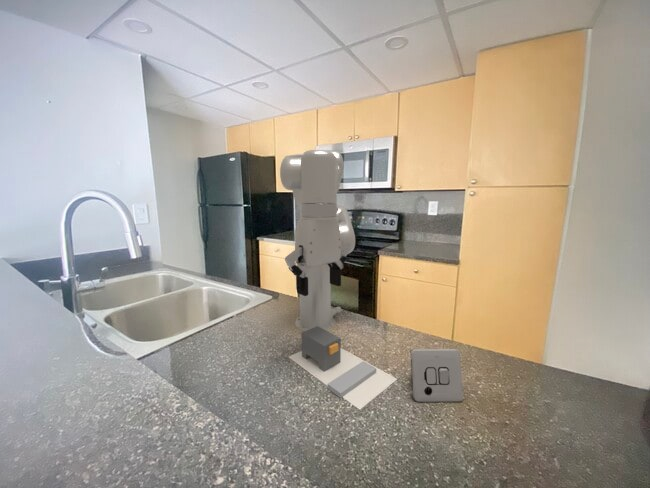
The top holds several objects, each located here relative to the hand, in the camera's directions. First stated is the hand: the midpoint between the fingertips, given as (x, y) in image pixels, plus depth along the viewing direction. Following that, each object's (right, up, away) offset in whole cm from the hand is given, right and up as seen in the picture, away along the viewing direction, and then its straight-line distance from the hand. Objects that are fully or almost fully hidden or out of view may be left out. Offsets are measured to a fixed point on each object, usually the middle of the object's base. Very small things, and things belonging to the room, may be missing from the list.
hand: (319, 289), depth 58 cm
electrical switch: (+22, -20, -7) cm, 30 cm away
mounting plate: (+4, -18, 0) cm, 19 cm away
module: (0, -17, +3) cm, 17 cm away
